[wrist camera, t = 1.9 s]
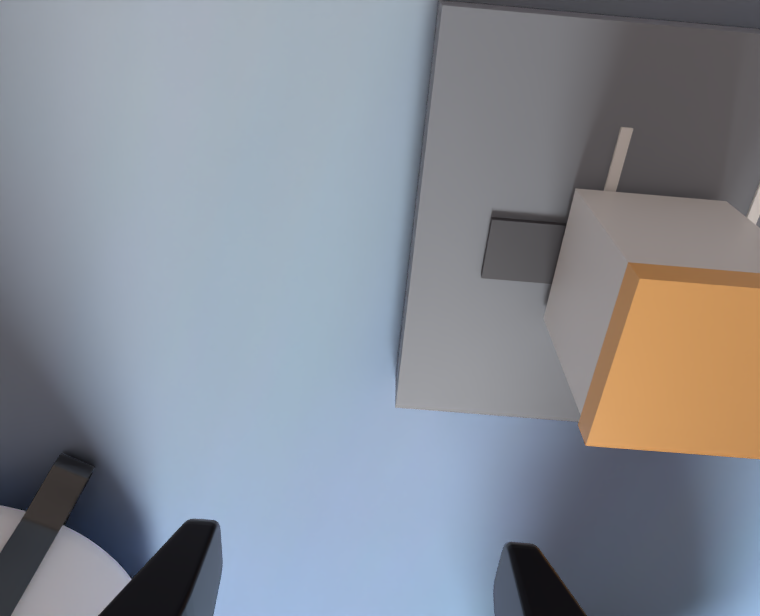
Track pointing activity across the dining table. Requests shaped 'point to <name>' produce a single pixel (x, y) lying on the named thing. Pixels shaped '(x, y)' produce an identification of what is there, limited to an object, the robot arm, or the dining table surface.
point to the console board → (552, 179)
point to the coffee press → (54, 553)
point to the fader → (660, 323)
